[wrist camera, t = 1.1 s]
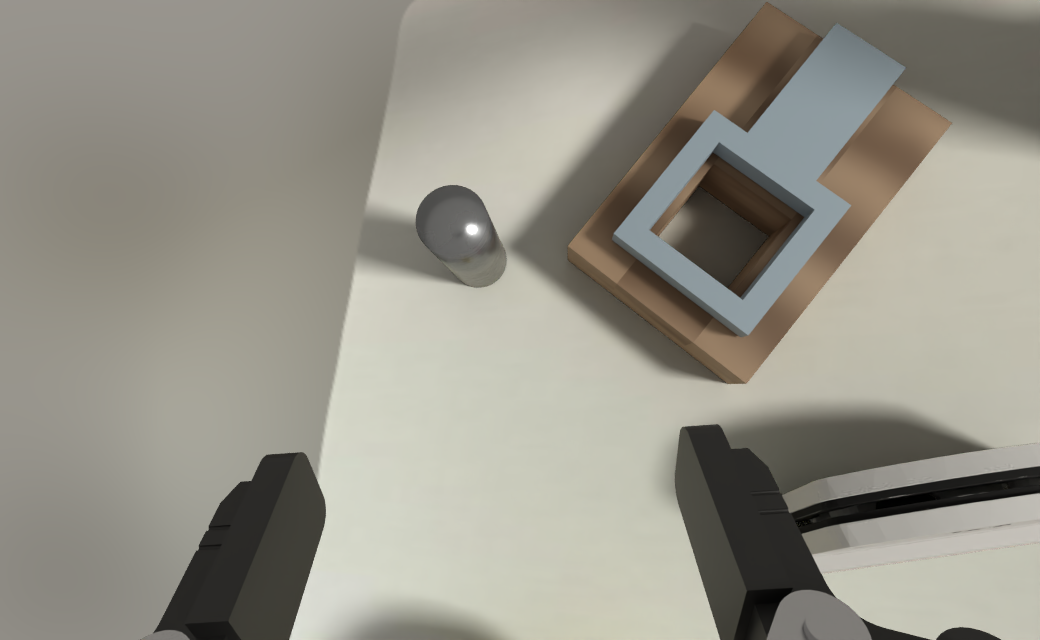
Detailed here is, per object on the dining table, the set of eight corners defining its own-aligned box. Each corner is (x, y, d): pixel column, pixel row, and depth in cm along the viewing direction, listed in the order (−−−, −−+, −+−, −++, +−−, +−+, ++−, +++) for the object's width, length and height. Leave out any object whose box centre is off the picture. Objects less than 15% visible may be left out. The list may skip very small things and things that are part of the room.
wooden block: (747, 38, 41) (766, 1, 37) (913, 149, 39) (952, 123, 35) (567, 259, 40) (567, 245, 36) (727, 383, 38) (746, 383, 35)
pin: (475, 222, 41) (446, 171, 31) (517, 255, 41) (502, 213, 31) (441, 264, 41) (401, 226, 31) (482, 298, 41) (455, 270, 31)
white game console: (783, 579, 37) (841, 572, 28) (760, 504, 39) (807, 476, 30) (1050, 541, 36) (1197, 521, 27) (1011, 466, 38) (1136, 425, 29)
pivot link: (793, 16, 37) (802, 0, 35) (926, 103, 35) (942, 90, 34) (611, 239, 36) (613, 233, 35) (740, 337, 35) (748, 335, 33)
